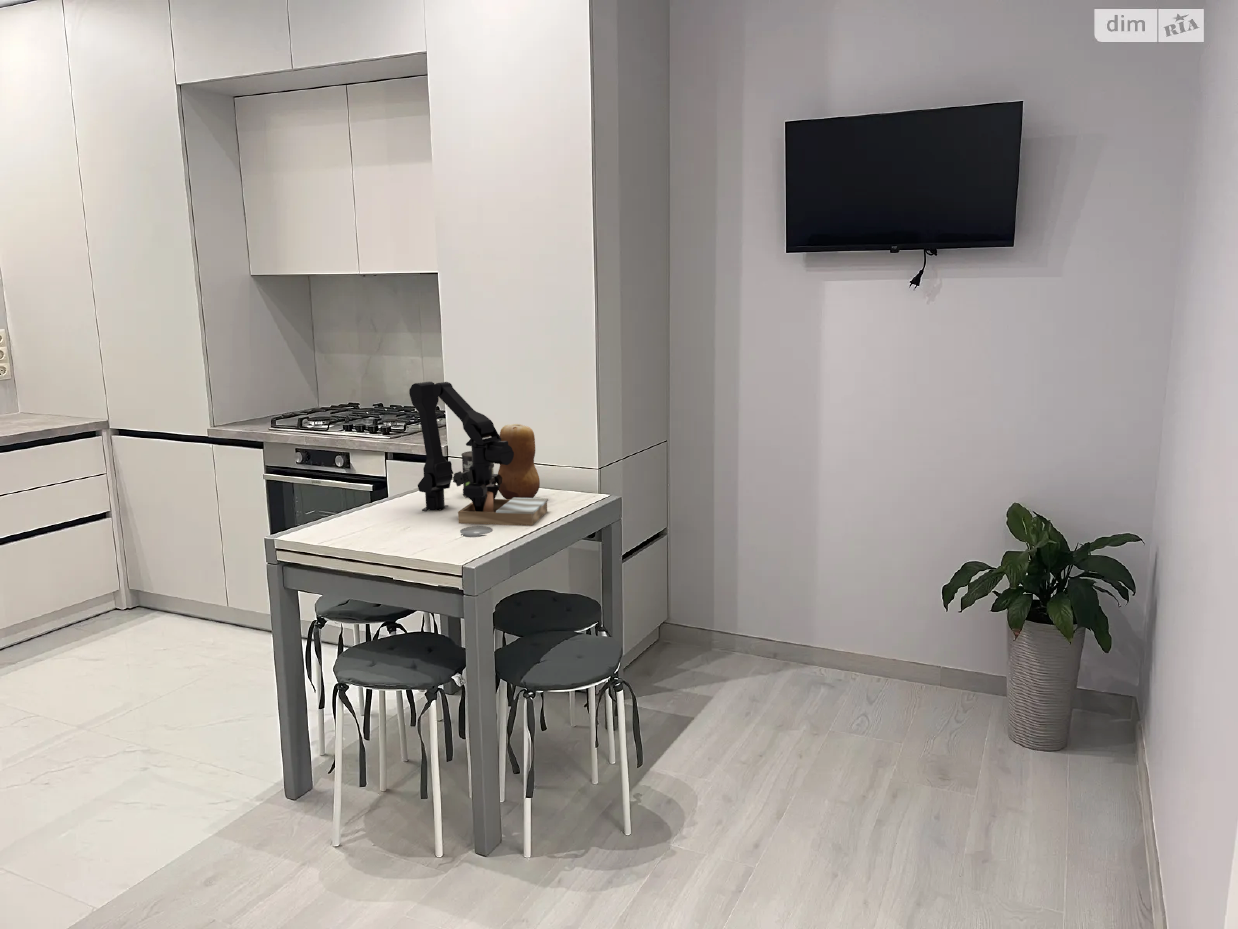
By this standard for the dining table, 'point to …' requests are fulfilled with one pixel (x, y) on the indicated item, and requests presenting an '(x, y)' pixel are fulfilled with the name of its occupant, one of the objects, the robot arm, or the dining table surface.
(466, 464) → the coffee can
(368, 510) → the dining table surface
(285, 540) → the dining table surface
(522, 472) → the butternut squash
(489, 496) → the tan cylinder
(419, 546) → the dining table surface
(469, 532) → the saucer
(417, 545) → the dining table surface
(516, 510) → the box
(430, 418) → the robot arm
